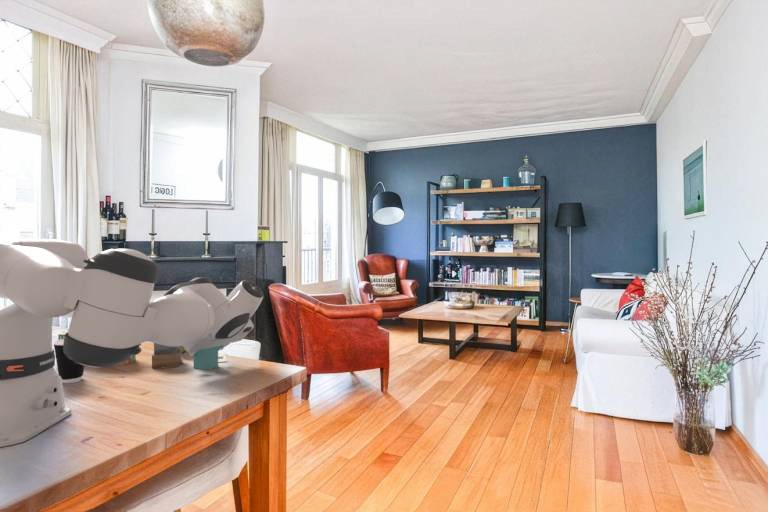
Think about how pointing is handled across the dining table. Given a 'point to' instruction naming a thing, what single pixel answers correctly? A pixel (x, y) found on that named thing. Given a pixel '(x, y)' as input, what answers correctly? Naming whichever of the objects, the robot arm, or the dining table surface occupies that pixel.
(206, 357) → the teal brick
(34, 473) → the dining table surface
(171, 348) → the grey-brown block
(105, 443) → the dining table surface
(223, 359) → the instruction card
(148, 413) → the dining table surface
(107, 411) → the dining table surface
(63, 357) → the dixie cup
